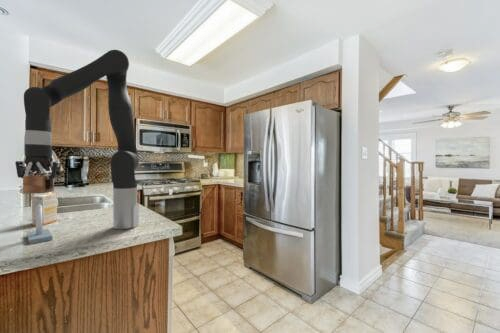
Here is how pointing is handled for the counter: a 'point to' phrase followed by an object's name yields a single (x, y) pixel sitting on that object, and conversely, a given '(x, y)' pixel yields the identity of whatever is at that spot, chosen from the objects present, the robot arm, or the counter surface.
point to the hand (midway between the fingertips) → (38, 189)
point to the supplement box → (45, 208)
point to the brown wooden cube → (35, 184)
